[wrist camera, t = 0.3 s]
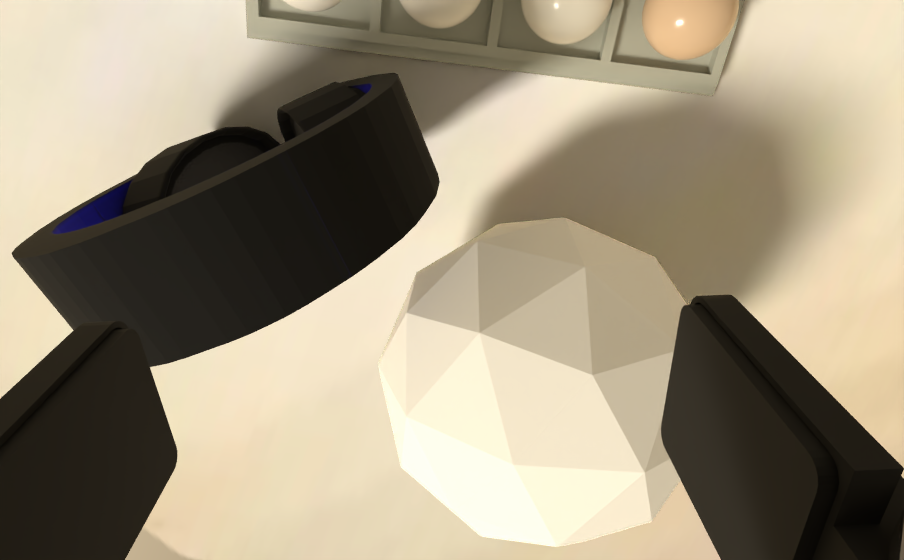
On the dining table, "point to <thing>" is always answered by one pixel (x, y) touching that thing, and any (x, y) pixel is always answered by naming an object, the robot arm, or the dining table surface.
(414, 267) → the dining table surface
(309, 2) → the white egg
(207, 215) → the headphones
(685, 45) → the brown egg
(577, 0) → the white egg
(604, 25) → the carton
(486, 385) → the polyhedron
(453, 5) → the white egg
